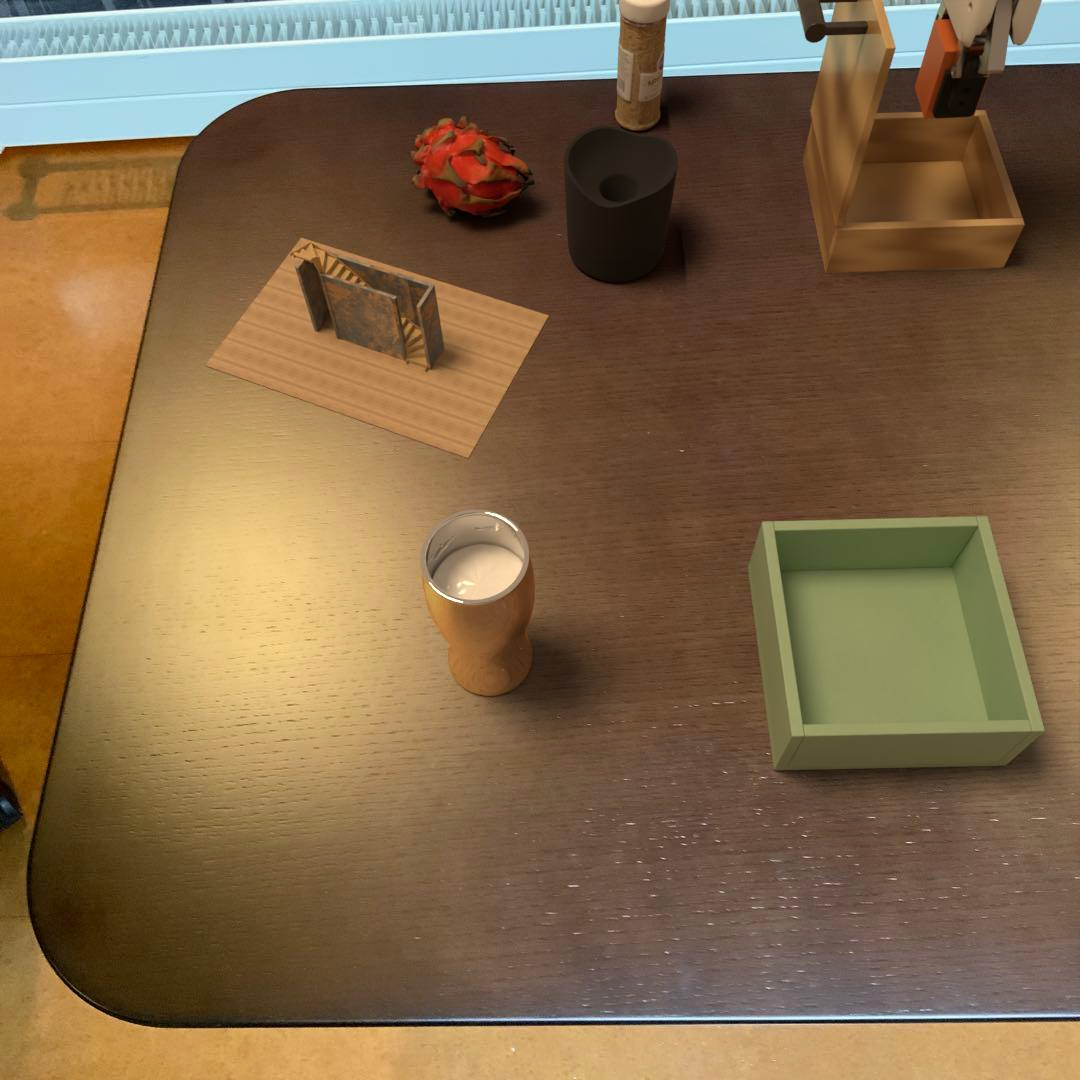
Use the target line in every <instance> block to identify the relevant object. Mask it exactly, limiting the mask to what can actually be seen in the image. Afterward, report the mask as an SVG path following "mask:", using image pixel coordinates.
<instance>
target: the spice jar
mask: <svg viewBox="0 0 1080 1080" xmlns="http://www.w3.org/2000/svg"><path fill="white" fill-rule="evenodd" d="M670 8H671V0H618V11H619V14H620V18H619V19H620V20H619V37H618V44H617V46H618V47H617V51H618V52H617V74H616V92H617V94H616V96H617V99H616V108H615V111H614V117H615V120H616V122H617V123H618V125H619V126H621V128H623V129H625V130H628V131H631V132H636V131H637V132H640V131H646V130H649V129H651V128H653V127H655V125H656V124H657V123H659V120H660V119H661V110H660V108H661V107H660V106H661V96H662V95H661V94H662V89H663V78H664V77H663V76H664V66H665V65H664V64H665V52H666V46H665V44H666V42H665V41H666V34H667V33H666V31H667V20H668V19H667V18H668V15H669V13H670Z"/></svg>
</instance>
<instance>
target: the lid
mask: <svg viewBox="0 0 1080 1080" xmlns="http://www.w3.org/2000/svg"><path fill="white" fill-rule="evenodd" d="M796 3H797V7H798V11H799V17H800V21H801V25H802V29H803V33H804V34H803V35H804V38H805V40H806V41H807V42H809V43H811V44H815V43H820V42H821V41H822V40H824V38H825V37H826V42H825V46H824V49H823V50H824V51H823V55H822V59H821V63H820V67H819V70H818V71H819V72H818V76H817V80H816V84H815V88H814V93H813V97H812V101H811V106H810V110H809V111H810V117H811V122H812V121H813V126H814V130H815V135H816V139H817V144H818V149H819V153H820V158H821V162H822V167H823V172H824V176H825V181H826V185H827V190H828V195H829V199H830V204H831V208H832V213H833V218H834V222H835V226H843V225H844V221H845V218H846V214H847V211H848V208H849V204H850V201H851V198H852V194H853V191H854V187H855V184H856V181H857V177H858V174H859V171H860V167H861V164H862V160H863V157H864V154H865V150H866V147H867V144H868V140H869V137H870V133H871V130H872V127H873V123H874V120H875V117H876V113H878V109H879V107H880V102H881V100H882V97H883V93H884V90H885V85H886V83H887V80H888V76H889V74H890V73H889V72H890V69H891V65H892V62H893V59H894V55H895V52H896V49H897V47H896V44H895V40H894V37H893V33H892V30H891V27H890V23H889V20H888V16H887V12H886V8H885V6H884V2H883V0H796ZM833 3H834V7H833V10H832V14H831V15H832V16H831V20H830V21H826V19H825V15H824V12H823V7H822V4H833Z"/></svg>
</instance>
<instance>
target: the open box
mask: <svg viewBox="0 0 1080 1080" xmlns="http://www.w3.org/2000/svg"><path fill="white" fill-rule="evenodd" d="M989 520H990V519H989V517H988V516H987V515H977V516H973V515H972V516H970V515H969V516H938V517H937V516H935V517H932V516H931V517H929V516H927V517H894V518H893V517H892V518H891V517H890V518H889V517H888V518H886V517H885V518H849V519H848V518H847V519H807V520H774V521H773V520H768V521H767V520H766V521H765V520H764V521H761V524H760V527H759V530H758V533H757V537H756V540H755V544H754V547H753V550H752V552H751V557H750V560H749V562H748V565H747V573H748V574H747V575H748V581H749V589H750V590H749V591H750V597H751V598H750V599H751V604H752V613H753V619H754V620H753V621H754V628H755V636H756V643H757V651H758V659H759V660H758V661H759V667H760V675H761V684H762V691H763V699H764V706H765V714H766V715H765V716H766V720H767V722H766V723H767V730H768V737H769V744H770V745H769V746H770V751H771V752H770V754H771V759H772V760H771V761H772V769H773V771H812V770H814V771H815V770H856V769H857V770H859V769H862V770H863V769H907V768H908V769H909V768H911V769H912V768H914V769H915V768H957V767H959V768H960V767H961V768H963V767H1003V766H1004V767H1005V766H1007V765H1008V764H1009V763H1010V762H1011V761H1012V760H1014V759H1015V758H1016V757H1017V756H1019V754H1020V753H1022V752H1023V751H1024V750H1025V749H1026V748H1027V747H1029V746H1030V745H1031V744H1032V743H1033V742H1034V741H1036V740H1037V739H1038V738H1039V737H1040V736H1041V735H1043V734H1044V733H1045V731H1046V729H1045V726H1044V722H1043V719H1042V715H1041V711H1040V707H1039V703H1038V700H1037V697H1036V693H1035V689H1034V684H1033V681H1032V677H1031V674H1030V670H1029V666H1028V663H1027V659H1026V655H1025V651H1024V647H1023V644H1022V640H1021V635H1020V633H1019V629H1018V624H1017V621H1016V618H1015V614H1014V609H1013V606H1012V603H1011V599H1010V595H1009V591H1008V587H1007V584H1006V580H1005V576H1004V573H1003V570H1002V565H1001V561H1000V557H999V553H998V550H997V546H996V542H995V539H994V536H993V532H992V527H991V524H990V521H989Z"/></svg>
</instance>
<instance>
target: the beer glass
mask: <svg viewBox="0 0 1080 1080" xmlns="http://www.w3.org/2000/svg"><path fill="white" fill-rule="evenodd" d="M419 553H420V554H419V565H420V571H421V579H422V589H423V594H424V600H425V603H426V606H427V610H428V613H429V616H430V618H431V619H432V622H433V623H434V625H435V626H436V628H437V630H438V632H439V633H440V635H441V637H443V639H444V640H445V642H446V643H447V644H448V651H447V652H448V653H447V661H448V666H449V670H450V673H451V674H452V676H453V678H454V679H455V681H456V683H458V684H459V685H460V686H461V687H462V688H464V689H465V690H467V691H469V692H470V693H472V694H475V695H479V696H483V697H484V696H485V697H494V696H500V695H503V694H507V693H508V692H511V691H513V690H515V689H516V688H517V687H519V686H520V685H521V683H522V682H524V680H525V679H526V678H527V676H528V675H529V673H530V670H531V668H532V664H533V659H534V658H533V656H534V654H533V651H534V650H533V646H532V641H531V640H530V637H529V635H528V634H527V631H528V629H529V625H530V623H531V619H532V616H533V612H534V606H535V600H536V583H535V574H534V567H533V562H532V558H531V555H530V547H529V542H528V540H527V537H526V535H525V533H523V531H522V529H521V528H520V526H519V525H517V524H516V522H515V521H514V520H512V519H510V518H509V517H507V516H506V515H503V514H502V513H499V512H497V511H493V510H489V509H481V508H473V509H464V510H461V511H457V512H455V513H454V512H453V513H452V514H449V515H448V516H445V518H443V519H441V520H439V522H437V523H436V524H435V525H434V526H433V527H432V528H431V530H429V532H428V533H427V535H426V536H425V539H424V540H423V543H422V545H421V549H420V552H419Z"/></svg>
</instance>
